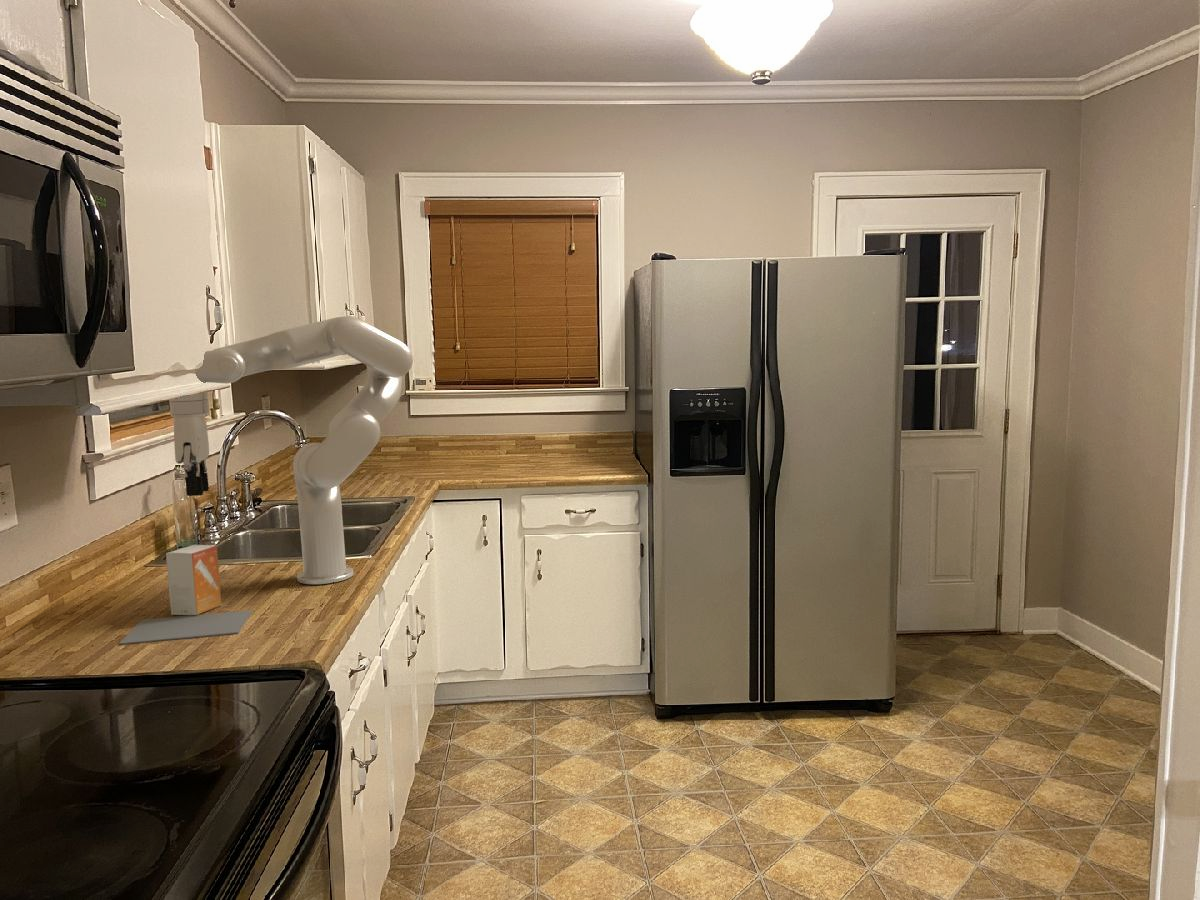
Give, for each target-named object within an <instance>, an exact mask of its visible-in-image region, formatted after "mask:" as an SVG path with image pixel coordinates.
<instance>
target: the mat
mask: <svg viewBox="0 0 1200 900" xmlns="http://www.w3.org/2000/svg"><path fill="white" fill-rule="evenodd" d="M252 612H253V611H252V609H248V610H238V611H237V610H236V611H226V612H224V611H223V612H217V613H216V612H214V613H206V614H205V613H204V614H202V613H201V614H198V615H179V616H171V617H170V616H169V617H161V618H149V619H141V620H140V621H139V622H138V623H137V624H136V626H135V627H133V628H132V629H131V631H130V632H128V633H127V634H126V636H125V637H124V638H122V640H121V641H120V642H118V645H119V644H124V645H132V643H134V644H142V643H143V644H144V642H145V643H152V642H164V641H175V640H184V639H185V640H186V639H195V638H207V637H216V636H218V637H219V636H226V635H227V636H228V635H237V634H240V632H241V630H242V628H243V627H244V625H245V623H246V622H247V620H248V618H249V617H250V615H251V613H252Z"/></svg>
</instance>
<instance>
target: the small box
mask: <svg viewBox="0 0 1200 900" xmlns="http://www.w3.org/2000/svg"><path fill="white" fill-rule="evenodd" d="M165 556H166V557H165V558H166V568H167V569H166V571H167V581H168V582H167V583H168V592H169V593H168V594H169V605H170V614H171V615H172V616H173V615H174V616H191V615H201V614H202V613H205V612H207V611H210V610H212V609H215V608H217V607H221V606H222V596H221V595H222V594H221V585H220V584H221V583H220V581H221V580H220V570H219V561H218V560H219V557H218V546H217V545H214V544H191V545H189V546H185V547H181V548H178V549H175V550H172V551H170V552H166V553H165Z"/></svg>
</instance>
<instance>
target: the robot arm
mask: <svg viewBox="0 0 1200 900" xmlns="http://www.w3.org/2000/svg"><path fill="white" fill-rule="evenodd" d="M211 350H212V351H211ZM211 350H205V351H206V352H205V354H204V360H203V365H202V366H201V367H200V368H199V369H198V370H197V371H196V373H195V374H196V376H197V378H198V379H199V380H200V381H201V382H203V383H206V382H207V383H211V384H212V383H215V384H233V383H235V382H237V381H238V380H240V379H241V378H242V377H246V376H250V375H254V374H258V373H262V372H263V373H264V372H267V371H272V370H288V369H292V368H298V367H301V366H305V365H309V364H312V363H315V362H319V361H323V360H328V359H331V358H334V357H335V358H336V357H339V356H342V355H347V356H349V357H351V358H353V359H355V360H356V361H358V362H359V363H362V364H364V365H365V366H366V369H367V376H366V382H365V383H364V385H363V386H362V388H361V389H360V390H359V391H358V392H357V394H356V395H355V396H354V397H353V398H352V399H351V400H350V401H349V402H347V404H346V405H345V406H344V407H343V408H342V409H341V410H340V411H339V412H338V413H337V414H336V415H335V416H334V417H333V418H332V419H331V420H330V423H329V426H328V435H327V436H326V437H325V438H324V439H323V441H321V442H310V443H306V444H305V445H302V447H300V448H299V449H298V451H296V453H295V455H294V458H293V462H292V464H293V465H292V471H293V478H294V483H295V488H296V489H295V490H296V497H297V504H298V505H297V507H298V508H297V509H298V520H299V531H300V543H301V556H302V566H303V567H302V568H303V569H302V571H300V572H299V573H298V574H297V575H296V580H297V581H298V583H301V584H305V585H325V584H333V582H334V583H338V582H342V581H344V580H348V579H350V578H352V576H354V568H352V567H350V566H347V562H346V561H347V560H346V548H345V535H344V534H345V533H344V522H343V507H342V504H343V503H342V497H341V489H340V485H341V484H342V483H344V481H345V480H347V478H349V476H351V475H352V473H353V472H354V471H355V470H356V469H357V468H358V467H359V466H360V465H361V464H362V462H364V461H365V460H366V459H367V457H369V455H370V454H371V453H372V451H374V449H375V448H376V446H377V444H378V443H379V440H380V437H381V426H380V424H381V423H382V422H383V421H384V420H385V419H386V418H387V416H388V415H389V414H390V413H391V411H392V410H393V409H394V408H395V406H396V405H397V403H398V401H399V400H400V396H401V393H402V388H403V387H402V386H403V377H404V376H406V374H408V373H409V371H411V369H412V367H413V362H414V357H413V352H412V351H411V348H409V346H407V344H406V343H404V342H402V341H401V340H400V339H398V338H395V337H393V336H391V335H390V334H388V333H386V332H384V331H382V330H380V329H378V328H377V327H374V326H373V325H371V324H369V323H368V322H365V321H363V320H362V319H360V318H358V317H355V316H351V315H344V316H338V317H336V316H335V317H332V318H328V319H324V320H323V319H322V320H319V321H316V322H313V323H308V324H305V325H299V326H296V327H291V328H287V329H282V330H280V331H276V332H274V333H271V334H268V335H265V336H262V337H257V338H254V339H250V340H246V341H245V340H244V341H242V342H238V343H234V344H229V345H226V346H222V347H217V348H215V349H211ZM168 401H169V409H170V410H169V411H170V417H171V418H174V419H173V441H174V442H173V443H174V457H175V458H174V459H175V463H177V464H178V465H180V464H182V465H183V468H184V479H185V480H184V481H185V492H186V496H187V497H195V496H196V497H197V496H202V495H203V494H204V492H208V491H209V490H210V489H209V488H210V486H209V478H208V477H209V476H208V468H207V461H206V459H207V458H208V457H209V456H210V444H209V443H210V442H209V434H208V427H207V420H206V419H207V418H206V416H209V415H210V403H209V394H208V390H207V391H204V392H200V393H197V394H193V395H189V396H185V397H181V398H177V399H171V400H169V399H168Z"/></svg>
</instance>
